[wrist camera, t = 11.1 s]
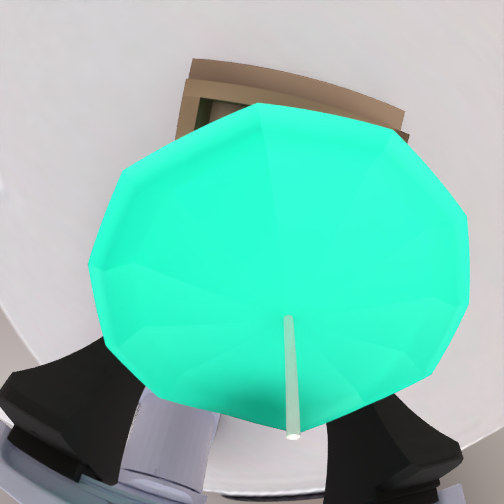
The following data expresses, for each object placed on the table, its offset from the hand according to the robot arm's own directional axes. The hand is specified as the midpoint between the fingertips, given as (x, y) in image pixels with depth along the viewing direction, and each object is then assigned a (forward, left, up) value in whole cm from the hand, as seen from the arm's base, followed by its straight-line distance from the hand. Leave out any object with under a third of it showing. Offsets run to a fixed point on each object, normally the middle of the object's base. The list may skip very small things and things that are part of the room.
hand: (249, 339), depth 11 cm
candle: (+6, 0, -5) cm, 7 cm away
